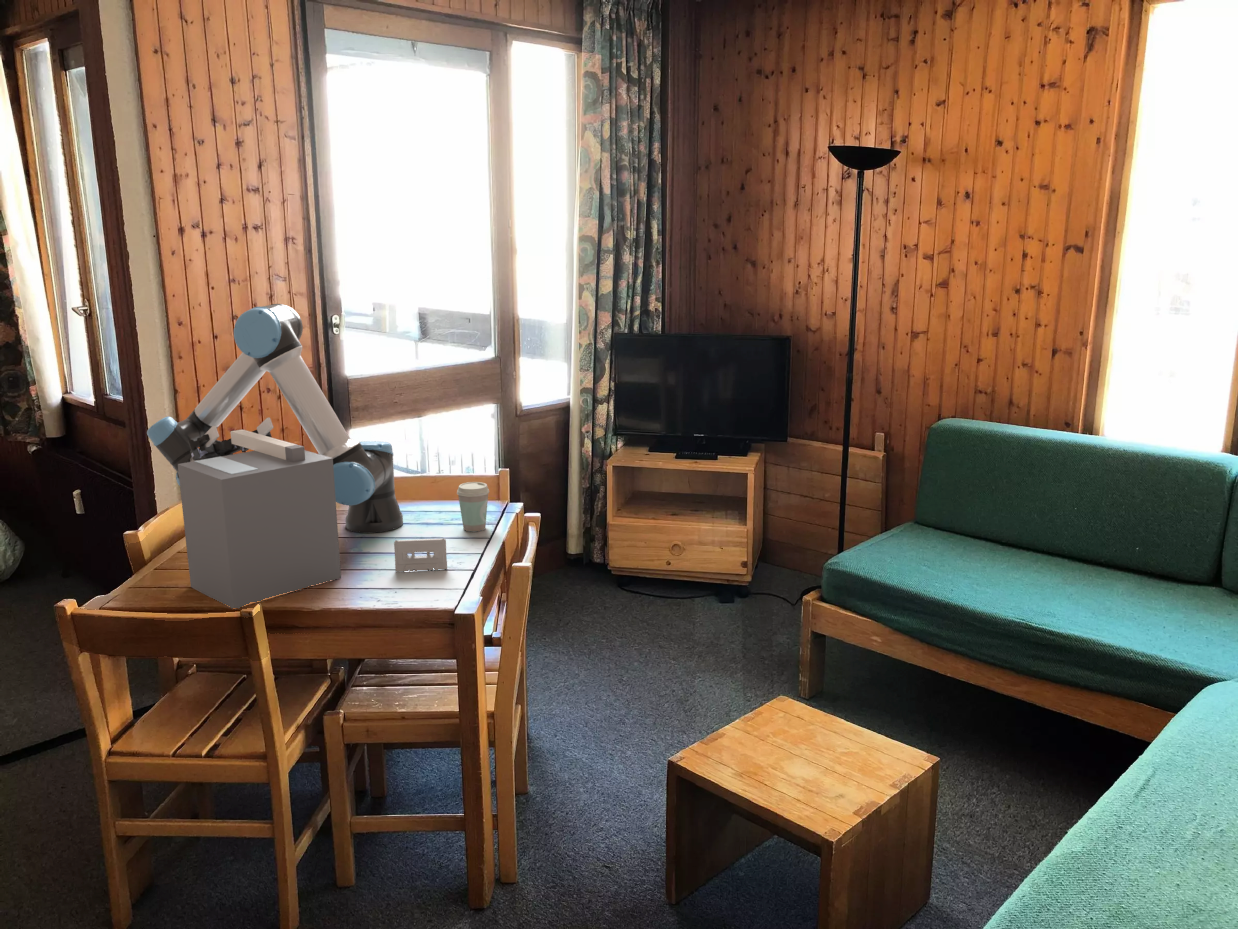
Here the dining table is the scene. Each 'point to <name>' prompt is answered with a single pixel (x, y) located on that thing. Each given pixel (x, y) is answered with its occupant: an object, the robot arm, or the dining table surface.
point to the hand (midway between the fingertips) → (243, 426)
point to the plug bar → (268, 445)
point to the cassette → (420, 562)
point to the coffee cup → (473, 505)
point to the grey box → (259, 525)
